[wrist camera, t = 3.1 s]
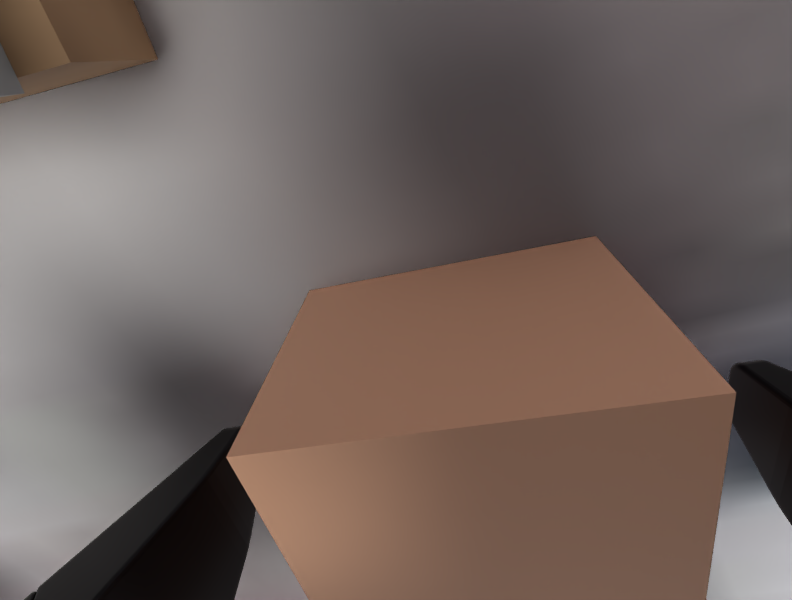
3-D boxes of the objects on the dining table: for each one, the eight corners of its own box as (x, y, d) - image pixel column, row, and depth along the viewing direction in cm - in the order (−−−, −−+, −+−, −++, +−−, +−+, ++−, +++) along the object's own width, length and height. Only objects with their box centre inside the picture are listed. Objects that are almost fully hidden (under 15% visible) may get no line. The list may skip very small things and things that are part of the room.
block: (600, 446, 10) (695, 665, 6) (379, 471, 11) (354, 677, 7) (593, 232, 7) (735, 392, 4) (311, 287, 8) (226, 457, 5)
